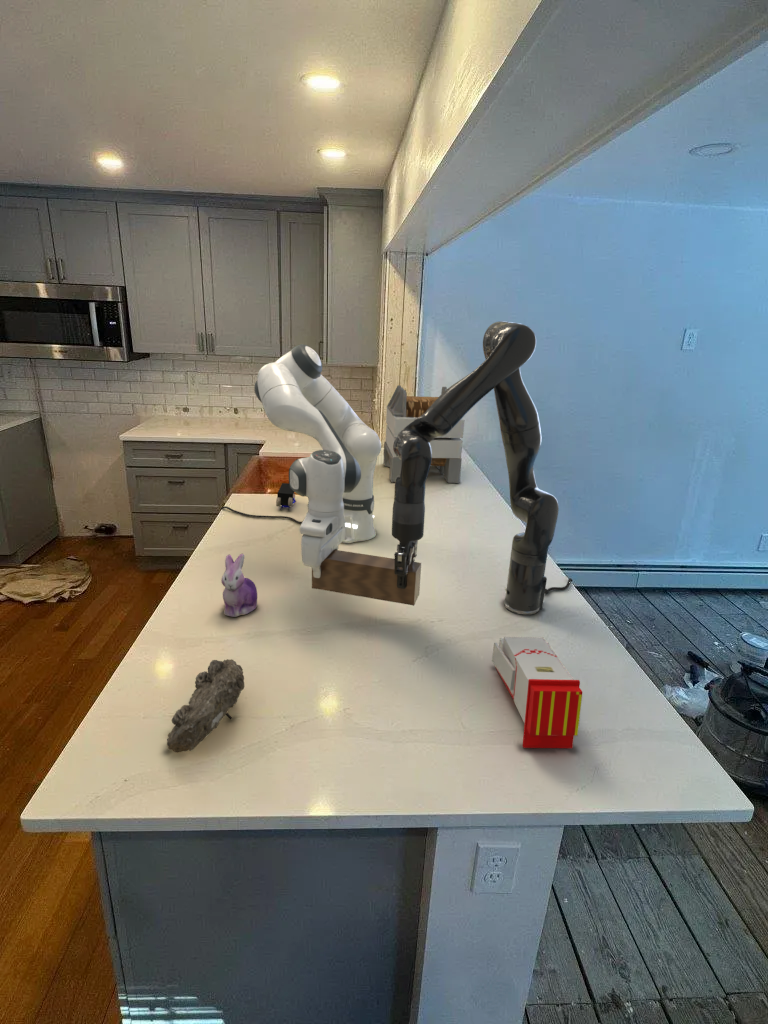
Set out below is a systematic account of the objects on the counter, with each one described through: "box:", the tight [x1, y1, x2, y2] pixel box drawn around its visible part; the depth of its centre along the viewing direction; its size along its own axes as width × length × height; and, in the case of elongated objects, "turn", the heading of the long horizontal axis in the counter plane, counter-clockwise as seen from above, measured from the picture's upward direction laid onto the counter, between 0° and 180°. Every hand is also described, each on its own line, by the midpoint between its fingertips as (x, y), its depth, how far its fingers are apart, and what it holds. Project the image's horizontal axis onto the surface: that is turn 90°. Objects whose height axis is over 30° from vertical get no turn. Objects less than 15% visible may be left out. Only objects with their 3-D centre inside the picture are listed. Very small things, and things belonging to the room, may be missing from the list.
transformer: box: [383, 384, 465, 484], centre depth 268 cm, size 34×33×41 cm
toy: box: [491, 636, 583, 749], centre depth 115 cm, size 12×13×30 cm
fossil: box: [166, 658, 245, 754], centre depth 106 cm, size 22×10×15 cm
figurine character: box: [275, 482, 296, 511], centre depth 221 cm, size 7×8×15 cm
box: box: [311, 549, 422, 607], centre depth 141 cm, size 26×6×9 cm, turn 74°
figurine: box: [220, 553, 258, 618], centre depth 144 cm, size 9×10×15 cm
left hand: (324, 568), depth 143 cm, fingers open, 8 cm apart
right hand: (404, 581), depth 138 cm, fingers closed on box, 6 cm apart
